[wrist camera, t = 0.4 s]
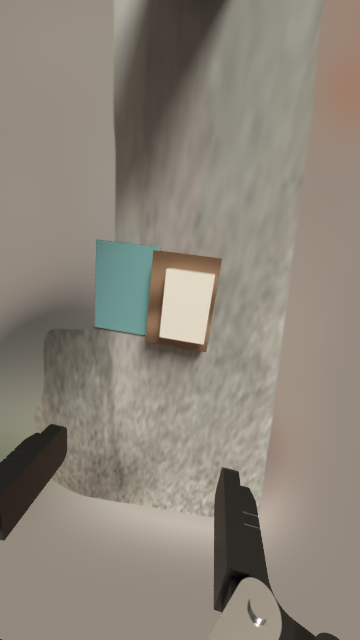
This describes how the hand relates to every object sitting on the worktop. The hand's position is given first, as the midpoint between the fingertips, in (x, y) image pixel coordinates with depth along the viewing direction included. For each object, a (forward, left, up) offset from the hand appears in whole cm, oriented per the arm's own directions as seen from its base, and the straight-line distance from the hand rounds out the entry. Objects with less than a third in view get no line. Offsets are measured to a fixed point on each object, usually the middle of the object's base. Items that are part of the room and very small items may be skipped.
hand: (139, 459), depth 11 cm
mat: (-4, -11, -26) cm, 28 cm away
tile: (-4, -1, -22) cm, 22 cm away
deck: (-4, -2, -26) cm, 26 cm away
